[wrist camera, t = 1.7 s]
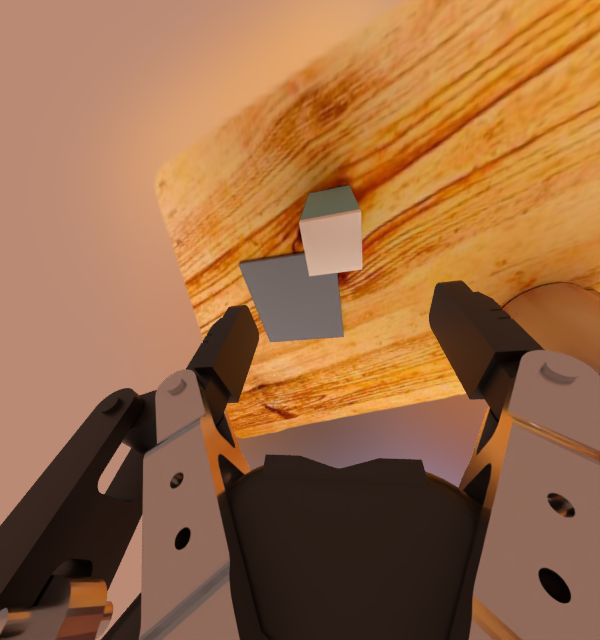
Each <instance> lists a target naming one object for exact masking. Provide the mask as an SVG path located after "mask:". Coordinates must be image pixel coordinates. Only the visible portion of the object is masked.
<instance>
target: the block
mask: <svg viewBox="0 0 600 640" xmlns="http://www.w3.org/2000/svg"><path fill="white" fill-rule="evenodd" d="M299 226H300V231H301V236H302V241H303V246H304V251H305V257H306V262H307V267H308V272H309V276H316V275H324V274H332V273H339V272H347V271H354V270H362V225H361V210H360V208H359V206H358V203H357V201H356V199H355V197H354V195H353V192H352V190H351V188H350V186H349V185H347V186H342V187H337V188H332V189H328V190H323V191H318V192H314V193H309V195H308V198H307V201H306V204H305V207H304V210H303V213H302V216H301V219H300V222H299Z"/></svg>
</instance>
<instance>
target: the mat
mask: <svg viewBox="0 0 600 640" xmlns="http://www.w3.org/2000/svg"><path fill="white" fill-rule="evenodd" d="M239 267H240V269H241V272H242V274H243V276H244V279H245V281H246V284H247V286H248V289H249V291H250V294H251V296H252V299H253V301H254V304H255V306H256V308H257V311H258V313H259V316H260V318H261V321H262V323H263V326H264V328H265V331H266V333H267V336H268V338H269V341H270V342H280V341H294V340H307V339H321V338H334V337H344V334H343V325H342V315H341V305H340V295H339V285H338V276H337V273H332V274H324V275H316V276H309V272H308V267H307V262H306V257H305V252H304V253H297V254H291V255H285V256H278V257H272V258H266V259H259V260H253V261H246V262H240V263H239Z"/></svg>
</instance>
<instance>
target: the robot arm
mask: <svg viewBox="0 0 600 640" xmlns="http://www.w3.org/2000/svg"><path fill="white" fill-rule="evenodd" d="M429 323H430V327H431V329H432V331H433V333H434V335H435V336H436V338H437V340H438V342H439V344H440V346H441V347H442V349H443V351H444V353H445V355H446V357H447V358H448V360H449V362H450V364H451V366H452V368H453V369H454V371H455V373H456V375H457V377H458V379H459V380H460V382H461V384H462V386H463V388H464V389H465V391H466V393H467V395H468V397H469V399H485V400H486V402H487V403H488V405H489V407H488V409H487V411H486V413H485V417H484V420H483V423H482V426H481V429H480V432H479V435H478V439H477V442H476V445H475V448H474V451H473V454H472V457H471V460H470V462H469V464H468V466H467V468H466V470H465V472H464V474H463V477H462V479H461V482H460V484H459V487H456V486H455V485H453V484H451V483H449V482H448V481H446V480H444V479H442V478H440V477H438V476H435V475H433V474H431V473H428V472H425V470H424V466H423V463H422V460H411V459H382V458H379V459H375V460H371V461H368V462H364V463H360V464H356V465H353V466H349V467H346V468H341V469H338V468H334V467H331V466H328V465H325V464H322V463H319V462H316V461H314V460H311V459H308V458H305V457H302V456H291V455H288V456H287V455H266V457H265V462H264V465H263V466H260V467H258V468H256V469H253V470H252V471H251V470H250V468H249V466H248V463H247V462H246V460H245V458H244V457H243V455H242V453H241V451H240V448H239V445H238V442H237V439H236V437H235V434H234V431H233V428H232V425H231V422H230V420H229V417H228V414H227V412H226V410H225V408H226V405H227V403H238V401H239V398H240V395H241V392H242V389H243V386H244V383H245V380H246V377H247V374H248V371H249V368H250V365H251V362H252V359H253V356H254V353H255V350H256V347H257V344H258V341H259V332H258V329H257V326H256V324H255V322H254V320H253V317H252V315H251V313H250V310H249V308H248V307H247V306H246V305H240V306H231V307H229V308H228V309H227V311H226V313H225V314H224V316H223V318H220V319H219V320H218V321H217V322H216V323H215V324H214V325H213V326H212V327H211V329H210V330H209V332H208V333H207V336H206V337H205V338H204V340H203V343H201V345H200V347H199V348H198V350H197V352H196V353H195V355H194V356H193V358H192V360H191V361H190V363H189V365H188V367H187V368H186V370H181V371H178V372H176V373H174V374H172V375H170V376H169V377H168V378H166V379H165V380H164V381H163V383H162V384H161V385H160V386H159V388H158V389H157V390H155V391H152V392H149V393H146V394H143V395H138V394H137V393H136V392H135V391H133V390H132V389H130V388H125V389H121V390H118V391H116V392H114V393H112V394H111V395H109V396H108V397H106V398H105V399H104V400H103V401H101V402H100V403H99V404H98V405H97V407H96V408H95V409H94V410H93V412H92V413H91V414H90V415H89V417H88V418H87V419H86V420H85V422H84V423H83V424H82V425H81V426H80V428H79V429H78V430H77V432H76V433H75V434H74V435H73V436H72V438H71V439H70V440H69V441H68V443H67V444H66V445H65V446H64V447H63V449H62V450H61V451H60V452H59V454H58V455H57V456H56V457H55V459H54V460H53V461H52V462H51V464H50V465H49V466H48V467H47V469H46V470H45V471H44V472H43V474H42V475H41V476H40V477H39V479H38V480H37V481H36V482H35V484H34V485H33V486H32V487H31V489H30V490H29V491H28V492H27V493H26V495H25V496H24V497H23V499H22V500H21V501H20V502H19V503H18V505H17V506H16V507H15V508H14V510H13V511H12V512H11V513H10V515H9V516H8V517H7V518H6V519H5V521H4V522H3V523H2V524H1V526H0V640H95V639H97V638H98V637H99V636H100V635H102V633H103V632H104V631H105V629H106V628H107V627H108V625H109V622H110V620H111V618H112V614H113V604H112V602H110V601H107V591H108V589H109V587H110V585H111V582H112V580H113V578H114V576H115V574H116V571H117V569H118V567H119V565H120V562H121V560H122V558H123V556H124V554H125V551H126V549H127V547H128V545H129V542H130V540H131V538H132V536H133V534H134V531H135V529H136V527H137V525H138V522H139V520H140V518H141V516H142V514H143V519H142V522H143V523H142V592H141V593H140V594H139V595H138V596H137V598H136V599H135V600H134V601H133V602H132V604H131V605H130V606H129V607H128V608H127V610H126V611H125V612H124V613H123V614H122V615H121V617H120V618H119V619H118V620H117V621H116V622H115V624H114V625H113V626H112V627H111V628H110V630H109V631H108V632H107V633H106V634H105V635H104V637H103V638H102V639H101V640H600V292H598V291H596V290H584V289H583V288H581V287H579V286H577V285H574V284H570V283H555V284H549V285H544V286H540V287H538V288H535V289H532V290H529V291H527V292H525V293H523V294H521V295H519V296H518V297H516V298H515V299H513V300H512V301H510V302H509V303H508V304H507V305H505V307H504V308H503V309H502V308H501V307H500V306H499V305H498V304H497V303H496V302H495V301H494V300H493V299H492V298H490V297H488V296H486V295H484V294H482V293H480V292H473V291H472V290H471V289H470V288H469V287H468V286H467V285H466V284H465V283H464V282H463V281H461V280H459V281H451V282H442V283H438V284H437V285H436V287H435V290H434V295H433V299H432V304H431V308H430V313H429ZM121 442H122V443H124V444H126V445H128V446H129V447H131V450H130V452H129V453H128V455H127V457H126V458H125V460H124V462H123V464H122V465H121V467H120V469H119V470H118V472H117V474H116V476H115V477H114V479H113V481H112V482H111V484H110V486H109V488H108V490H107V491H106V493H105V494H101V493H100V492H99V491H98V481H99V478H100V476H101V474H102V473H103V471H104V469H105V468H106V466H107V464H108V463H109V461H110V460H111V458H112V457H113V455H114V453H115V452H116V450H117V448H118V447H119V445H120V444H121Z"/></svg>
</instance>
